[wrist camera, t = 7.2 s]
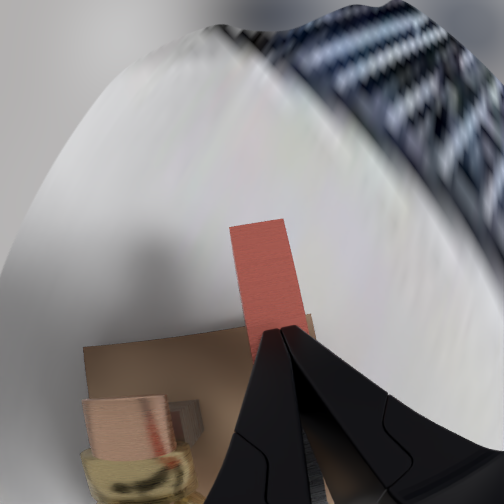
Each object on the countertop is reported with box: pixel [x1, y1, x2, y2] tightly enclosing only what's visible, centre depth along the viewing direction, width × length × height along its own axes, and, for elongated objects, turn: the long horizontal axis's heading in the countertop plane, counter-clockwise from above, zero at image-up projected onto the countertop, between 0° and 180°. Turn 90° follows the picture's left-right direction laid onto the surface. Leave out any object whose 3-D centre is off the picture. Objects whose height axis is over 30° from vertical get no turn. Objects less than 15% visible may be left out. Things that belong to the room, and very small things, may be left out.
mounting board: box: [83, 314, 334, 504], centre depth 13 cm, size 16×12×1 cm
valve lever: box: [229, 219, 329, 504], centre depth 9 cm, size 2×2×11 cm
